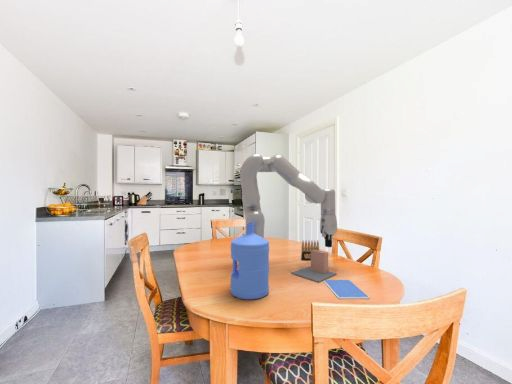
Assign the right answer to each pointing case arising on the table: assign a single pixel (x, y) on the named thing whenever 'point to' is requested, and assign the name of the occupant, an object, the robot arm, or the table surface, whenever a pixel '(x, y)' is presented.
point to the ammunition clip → (308, 250)
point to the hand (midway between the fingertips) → (328, 246)
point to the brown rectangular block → (319, 261)
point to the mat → (313, 274)
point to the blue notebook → (345, 289)
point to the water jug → (250, 265)
